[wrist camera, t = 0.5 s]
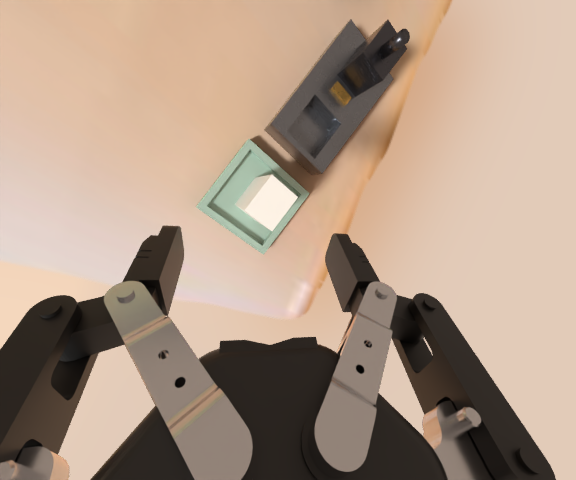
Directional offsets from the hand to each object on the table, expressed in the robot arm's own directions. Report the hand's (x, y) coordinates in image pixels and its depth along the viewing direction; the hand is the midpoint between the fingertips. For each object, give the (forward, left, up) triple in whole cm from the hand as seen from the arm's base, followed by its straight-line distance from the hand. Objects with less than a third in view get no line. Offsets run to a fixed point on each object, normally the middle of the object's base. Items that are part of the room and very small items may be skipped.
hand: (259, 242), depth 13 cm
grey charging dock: (+3, +22, -25) cm, 34 cm away
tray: (+3, +4, -25) cm, 26 cm away
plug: (+3, +4, -24) cm, 25 cm away
